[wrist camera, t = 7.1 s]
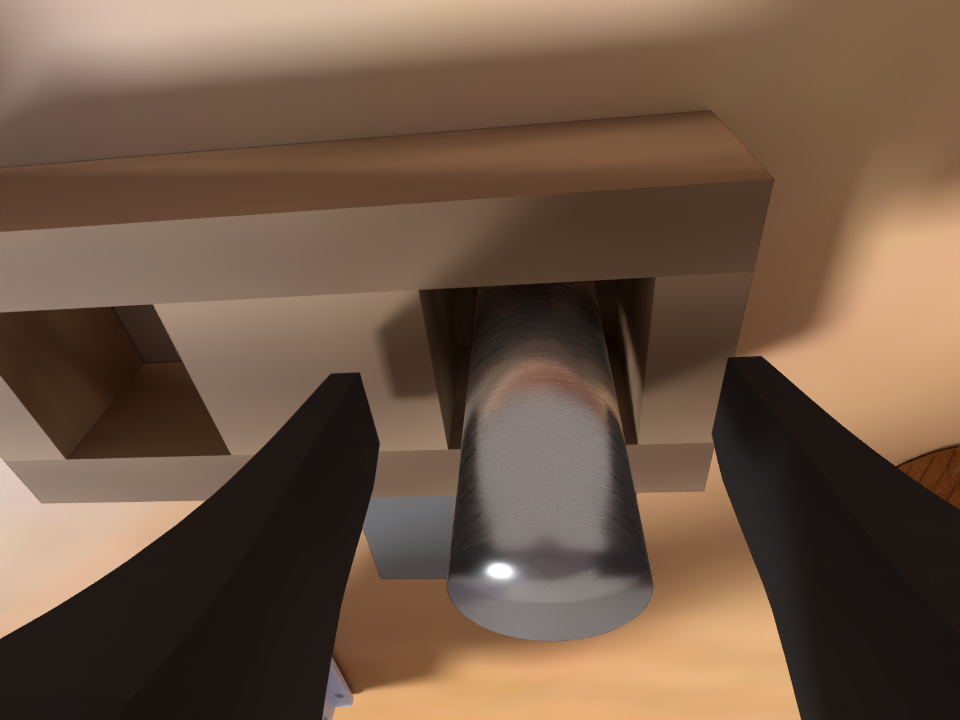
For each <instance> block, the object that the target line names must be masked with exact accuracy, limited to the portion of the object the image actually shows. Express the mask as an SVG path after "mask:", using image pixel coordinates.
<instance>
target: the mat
mask: <svg viewBox="0 0 960 720" xmlns="http://www.w3.org/2000/svg"><path fill="white" fill-rule="evenodd" d="M455 500H456V496H423V497H371V499H370V503H369V506H368V510H367V513H366V517H365V521H364V524H363V531H364V533H365V536H366V539H367V542H368V545H369V547H370V550H371V553H372V556H373V559H374V561H375V564H376V567H377V570H378V572H379V575H380V578H381V579H447V575H448V566H449V556H450V547H451V538H452V528H453V519H454V509H455Z"/></svg>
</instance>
